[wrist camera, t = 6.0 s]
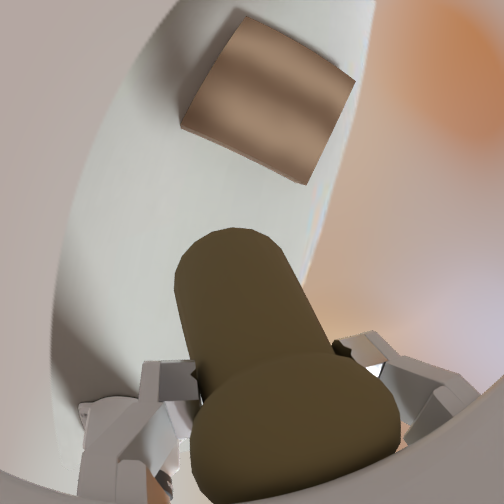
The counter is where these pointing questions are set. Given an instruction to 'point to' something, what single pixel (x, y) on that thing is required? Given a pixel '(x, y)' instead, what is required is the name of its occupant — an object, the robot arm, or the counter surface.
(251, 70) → the walnut base
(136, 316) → the counter surface
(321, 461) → the olive pawn
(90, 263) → the counter surface
